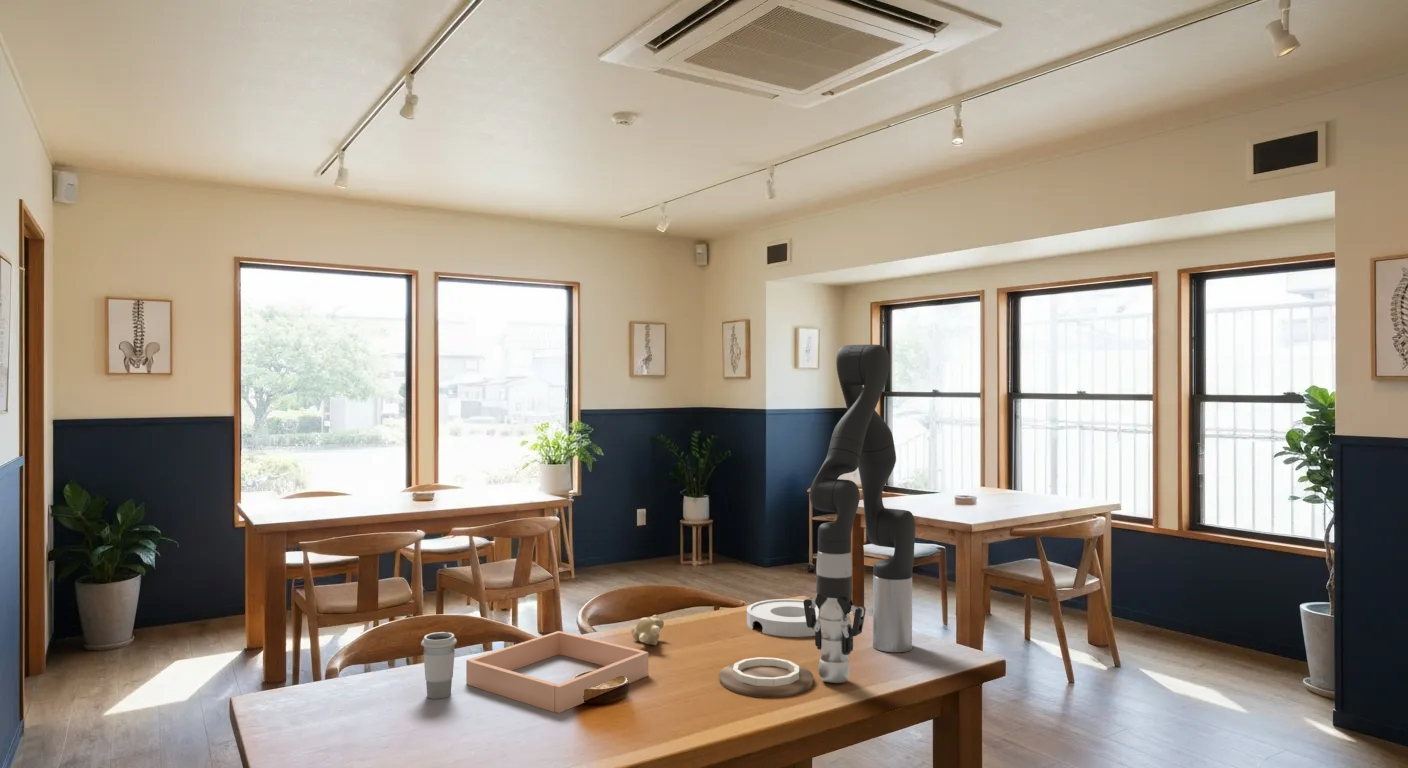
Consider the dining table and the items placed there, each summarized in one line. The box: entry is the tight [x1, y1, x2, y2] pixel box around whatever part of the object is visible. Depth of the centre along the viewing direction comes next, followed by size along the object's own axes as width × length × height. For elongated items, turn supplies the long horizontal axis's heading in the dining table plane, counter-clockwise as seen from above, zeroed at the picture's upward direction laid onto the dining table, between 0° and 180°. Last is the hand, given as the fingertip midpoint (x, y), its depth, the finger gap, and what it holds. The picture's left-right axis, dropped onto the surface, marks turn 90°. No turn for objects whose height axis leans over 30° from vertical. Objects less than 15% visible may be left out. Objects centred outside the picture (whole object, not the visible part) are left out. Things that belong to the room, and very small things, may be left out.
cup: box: [420, 631, 458, 700], centre depth 182 cm, size 7×7×12 cm
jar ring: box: [733, 656, 799, 686], centre depth 191 cm, size 14×14×2 cm
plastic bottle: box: [817, 598, 851, 684], centre depth 191 cm, size 6×7×20 cm
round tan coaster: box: [718, 662, 814, 698], centre depth 191 cm, size 20×20×1 cm
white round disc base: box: [746, 598, 819, 638], centre depth 235 cm, size 23×23×4 cm
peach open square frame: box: [465, 630, 649, 714], centre depth 191 cm, size 27×27×5 cm
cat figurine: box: [631, 614, 665, 646], centre depth 216 cm, size 8×7×12 cm
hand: (833, 651), depth 191 cm, fingers closed on plastic bottle, 5 cm apart
